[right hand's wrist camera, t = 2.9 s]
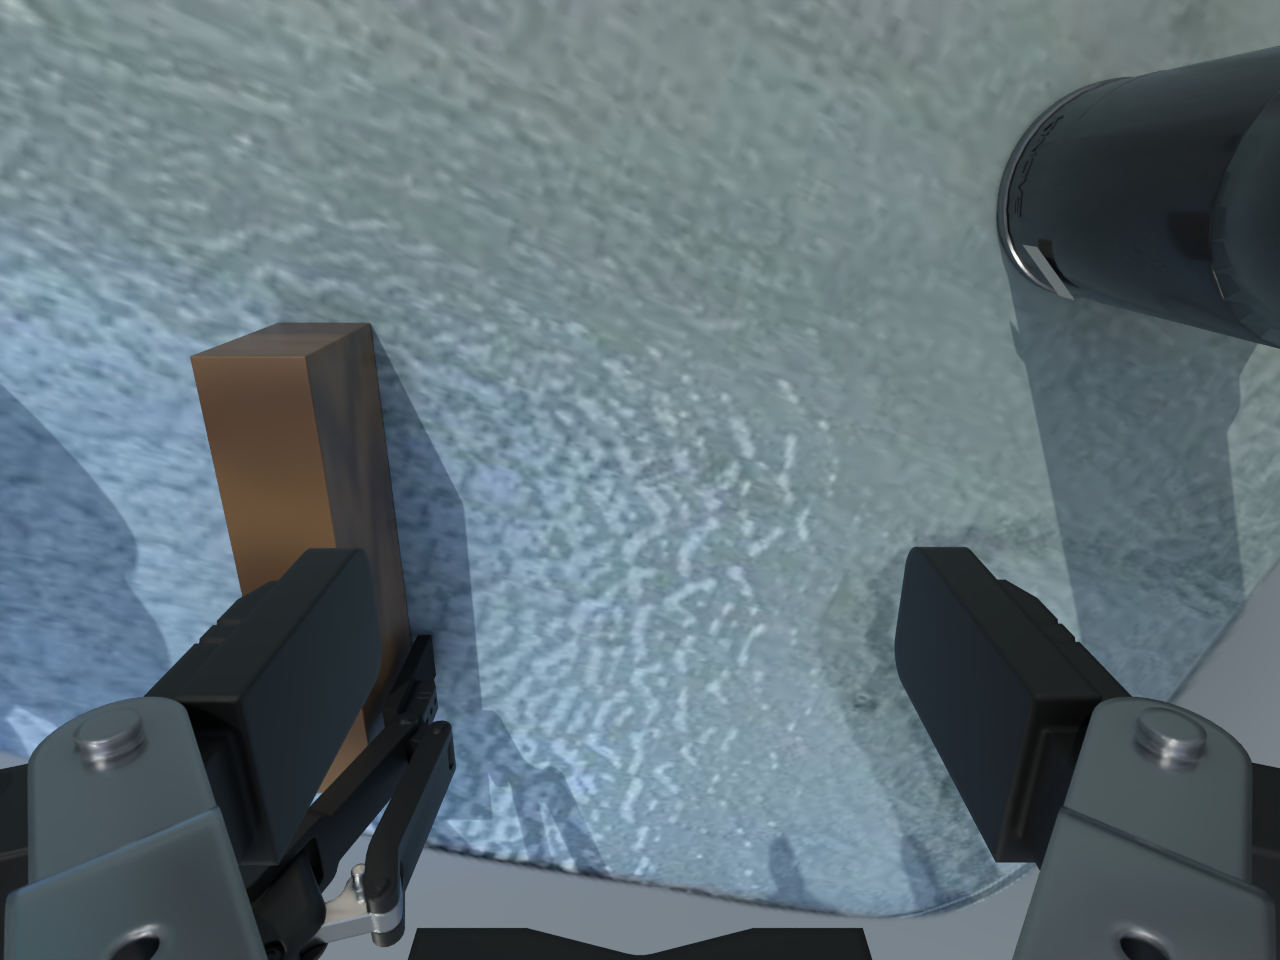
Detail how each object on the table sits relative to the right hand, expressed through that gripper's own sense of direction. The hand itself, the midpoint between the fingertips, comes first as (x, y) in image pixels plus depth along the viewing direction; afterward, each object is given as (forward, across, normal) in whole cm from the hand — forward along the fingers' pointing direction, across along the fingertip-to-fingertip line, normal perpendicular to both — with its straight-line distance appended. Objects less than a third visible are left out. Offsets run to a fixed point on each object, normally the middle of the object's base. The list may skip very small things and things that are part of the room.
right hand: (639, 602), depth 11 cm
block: (+28, -16, -12) cm, 34 cm away
